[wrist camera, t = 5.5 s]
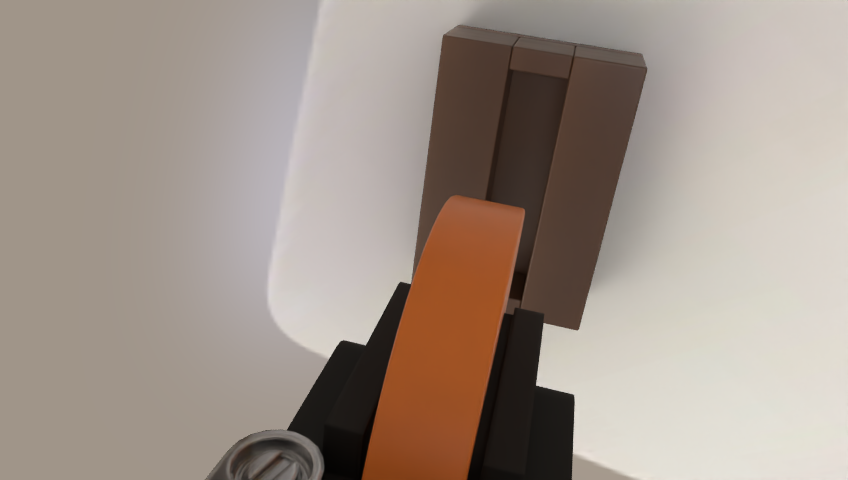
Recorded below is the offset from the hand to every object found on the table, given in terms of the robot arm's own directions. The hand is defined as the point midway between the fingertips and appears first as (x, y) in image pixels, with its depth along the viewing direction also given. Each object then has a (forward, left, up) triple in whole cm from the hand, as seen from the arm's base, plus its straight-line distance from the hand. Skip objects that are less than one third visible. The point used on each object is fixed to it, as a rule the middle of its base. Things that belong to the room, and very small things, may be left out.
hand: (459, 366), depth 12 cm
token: (0, 0, -2) cm, 2 cm away
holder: (0, 0, -13) cm, 13 cm away
